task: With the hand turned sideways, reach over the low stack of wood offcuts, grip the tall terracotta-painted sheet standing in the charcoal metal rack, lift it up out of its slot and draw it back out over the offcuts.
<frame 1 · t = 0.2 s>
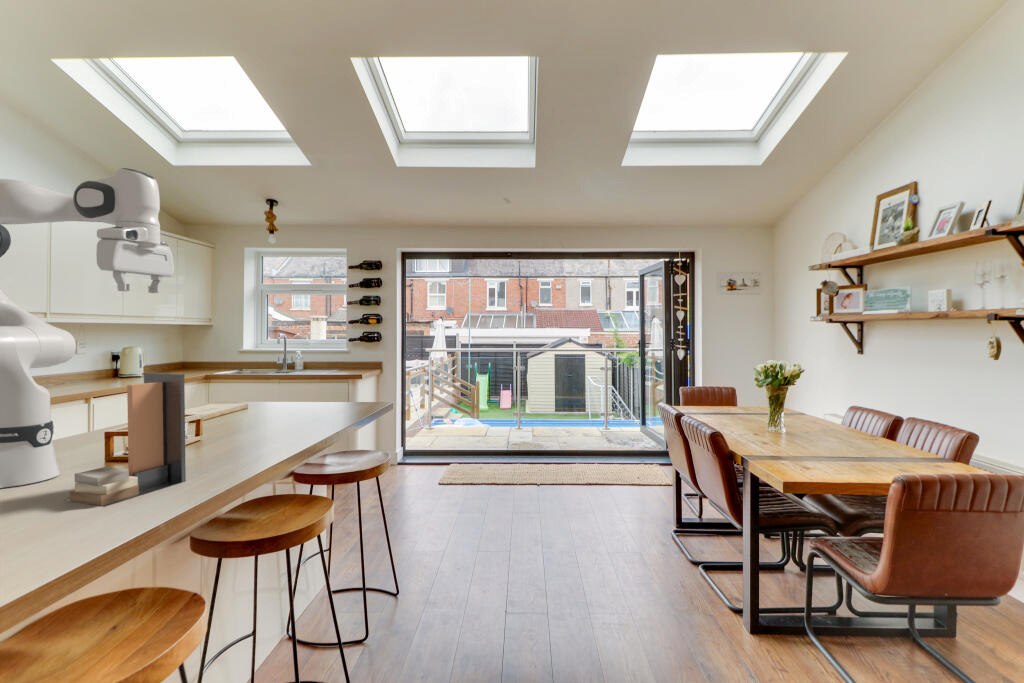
hand: (139, 292, 123), 48 cm above the countertop, tool pointing down, fingers open, 8 cm apart
cleaver: (155, 467, 138), on the countertop
offcut stack: (105, 497, 108), point 1 cm above the countertop, touching rack
sheet: (146, 485, 116), point 1 cm above the countertop, touching rack
rack: (129, 496, 112), on the countertop
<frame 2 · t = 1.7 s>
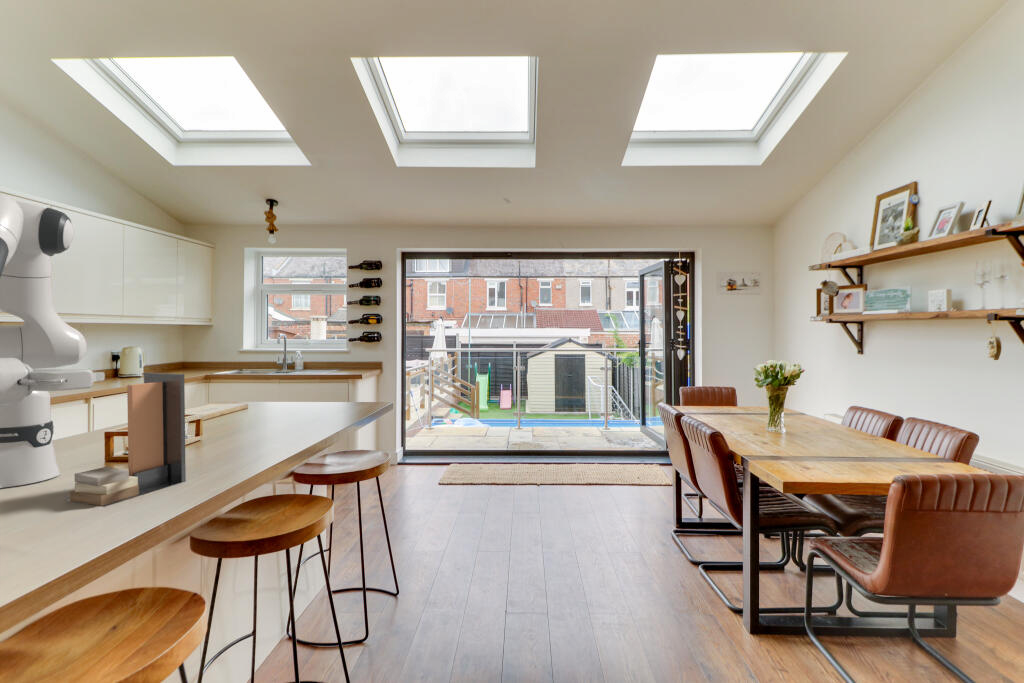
hand: (86, 375, 104), 28 cm above the countertop, tool horizontal, fingers open, 8 cm apart
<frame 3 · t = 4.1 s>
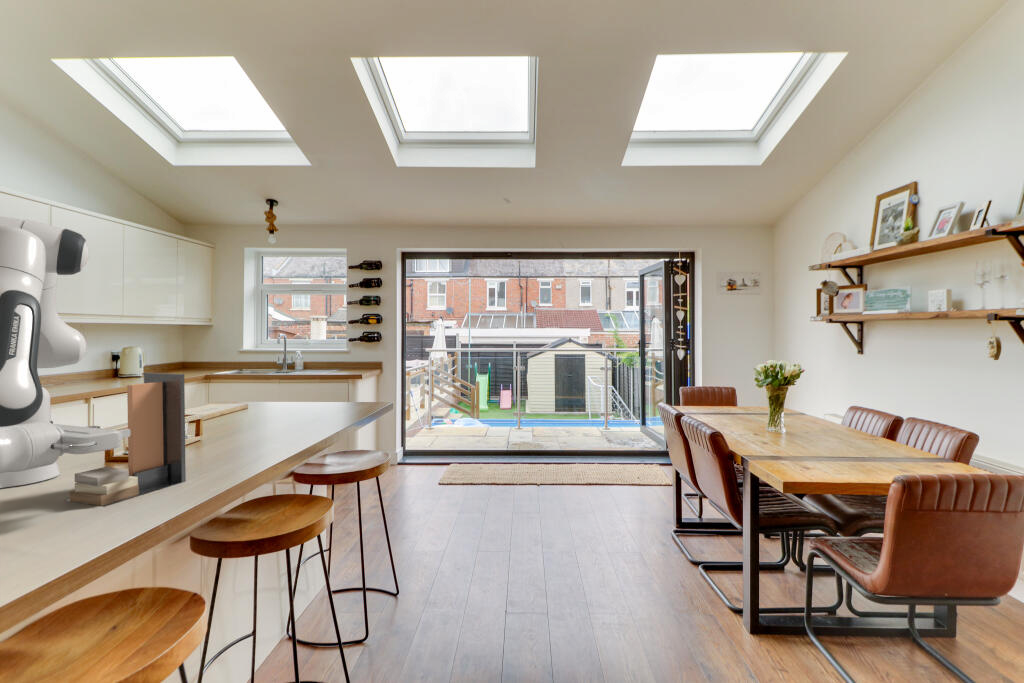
hand: (113, 430, 109), 16 cm above the countertop, tool horizontal, fingers open, 8 cm apart
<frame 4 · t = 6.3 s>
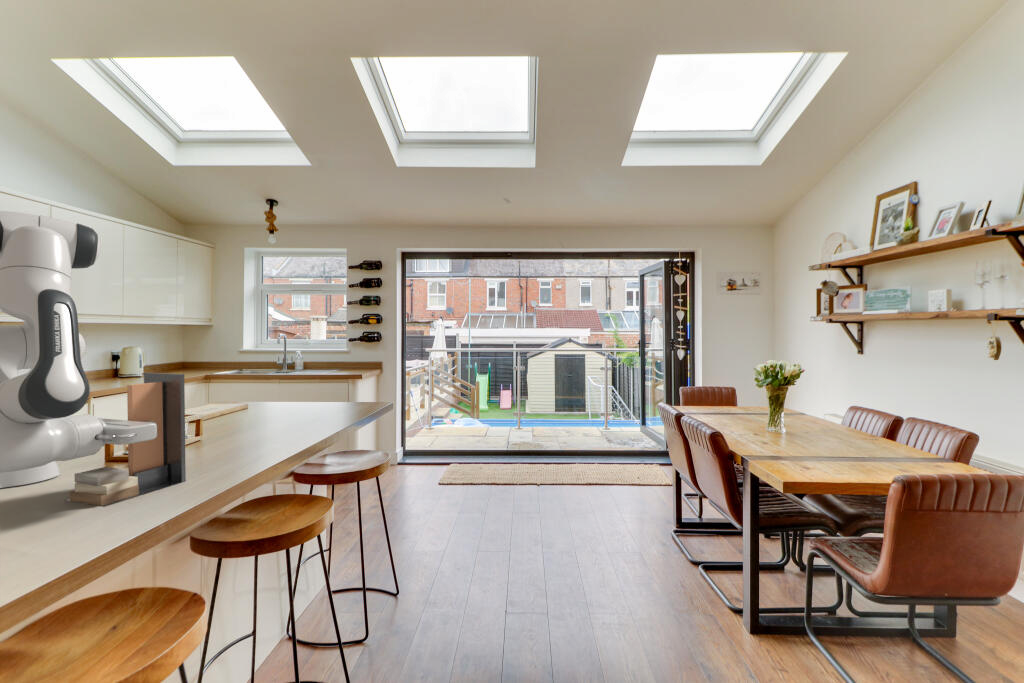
hand: (147, 423, 116), 16 cm above the countertop, tool horizontal, fingers closed on sheet, 2 cm apart
sheet: (146, 485, 116), point 2 cm above the countertop, touching gripper, rack
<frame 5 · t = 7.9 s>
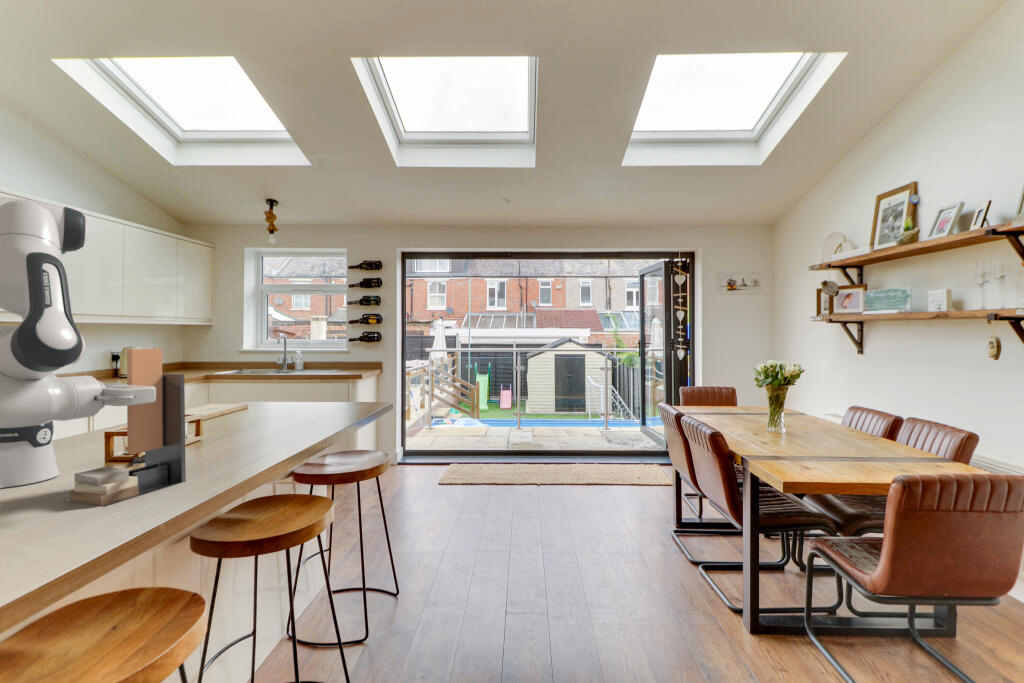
hand: (146, 389, 116), 24 cm above the countertop, tool horizontal, fingers closed on sheet
sheet: (145, 450, 116), point 10 cm above the countertop, touching gripper
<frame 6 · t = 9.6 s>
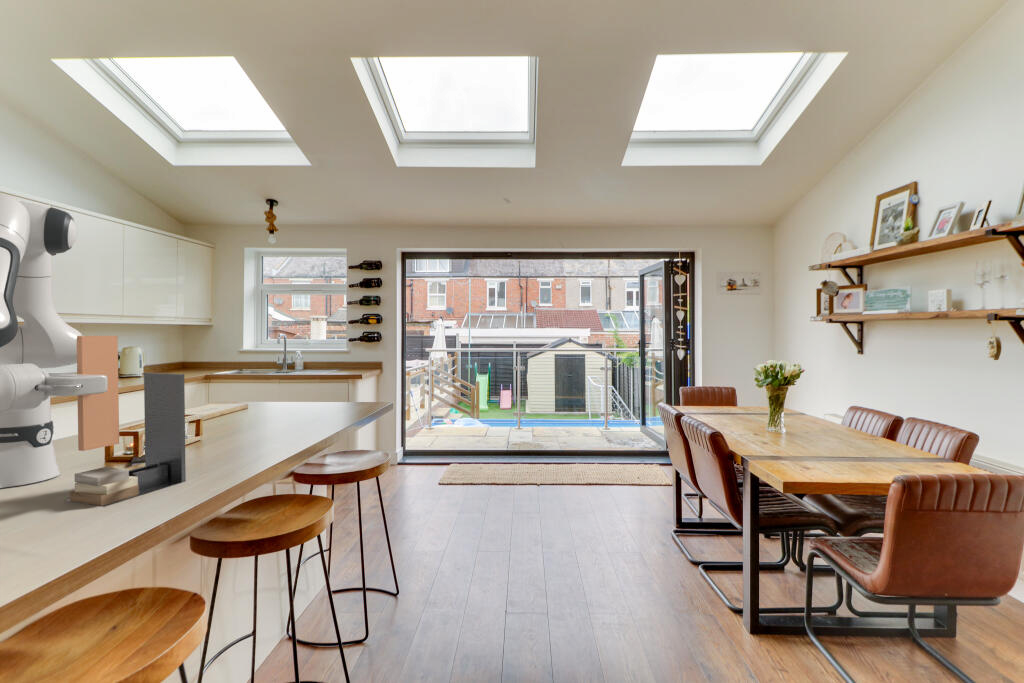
hand: (100, 380, 106), 27 cm above the countertop, tool horizontal, fingers closed on sheet
sheet: (99, 446, 106), point 13 cm above the countertop, touching gripper
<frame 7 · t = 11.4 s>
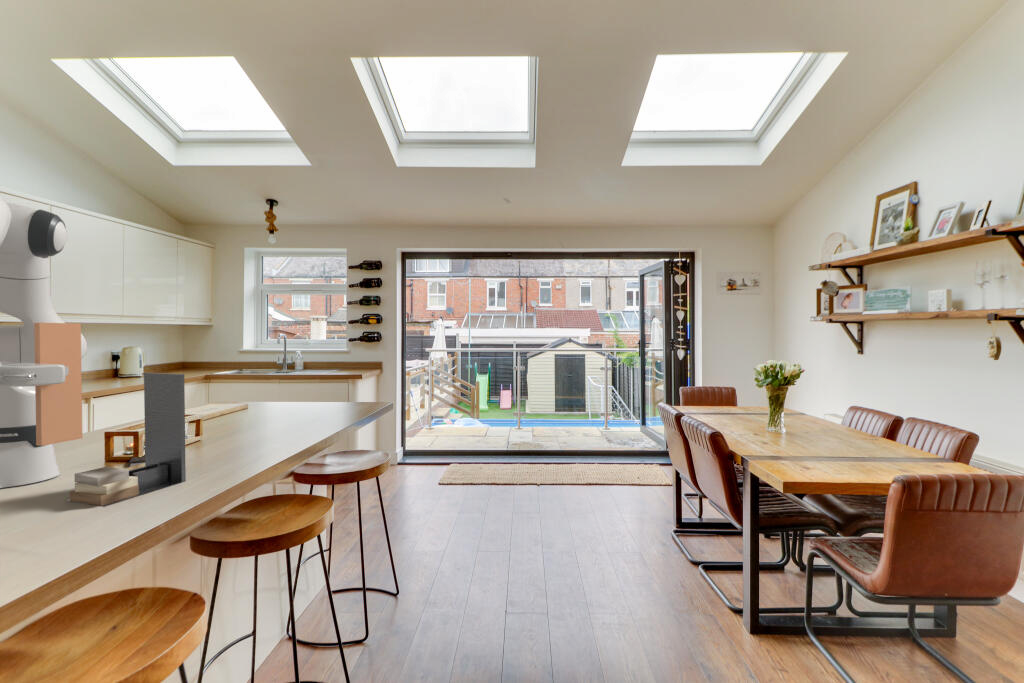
hand: (61, 370, 99), 30 cm above the countertop, tool horizontal, fingers closed on sheet
sheet: (60, 441, 99), point 16 cm above the countertop, touching gripper
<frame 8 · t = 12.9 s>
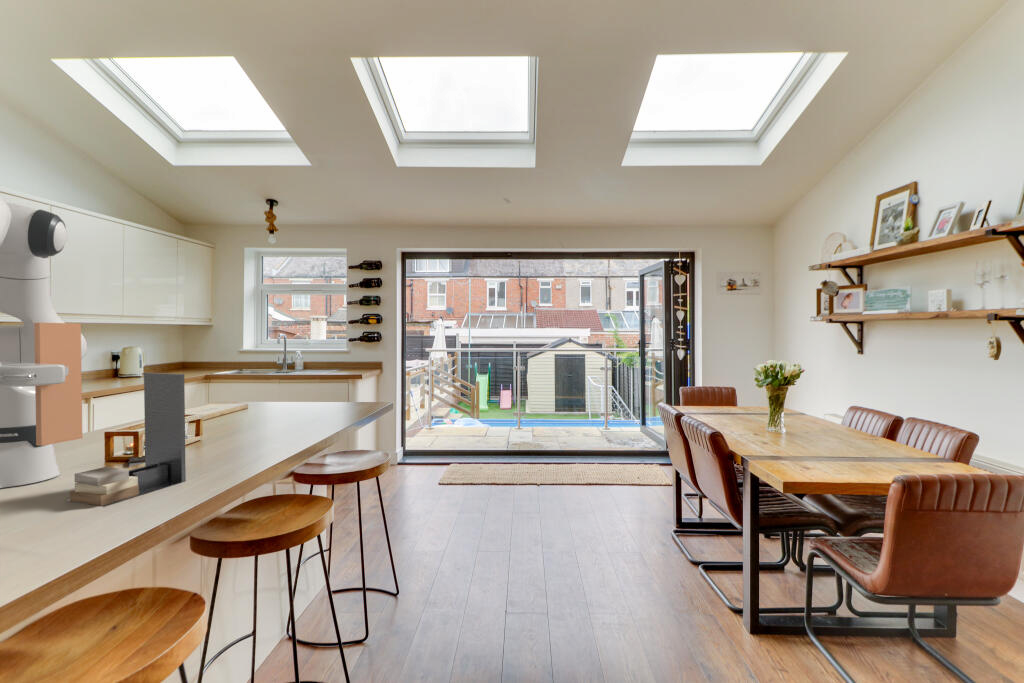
hand: (61, 370, 99), 30 cm above the countertop, tool horizontal, fingers closed on sheet
sheet: (60, 441, 99), point 16 cm above the countertop, touching gripper
at the end: the gripper is holding sheet; sheet point 15.5 cm above the countertop; sheet moved 22.1 cm from its start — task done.
